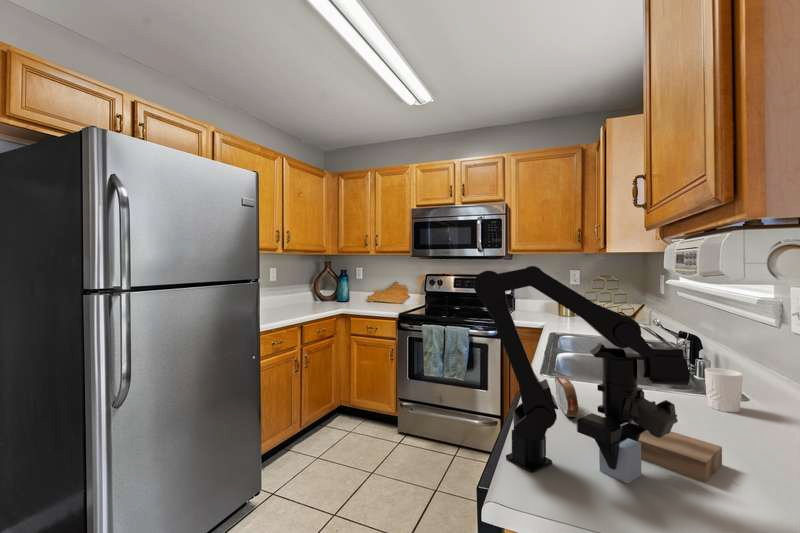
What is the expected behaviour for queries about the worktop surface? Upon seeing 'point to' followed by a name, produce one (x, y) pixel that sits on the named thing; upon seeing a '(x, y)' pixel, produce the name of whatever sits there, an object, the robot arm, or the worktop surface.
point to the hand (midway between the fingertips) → (620, 464)
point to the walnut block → (682, 454)
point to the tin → (566, 396)
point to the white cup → (723, 389)
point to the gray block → (624, 462)
